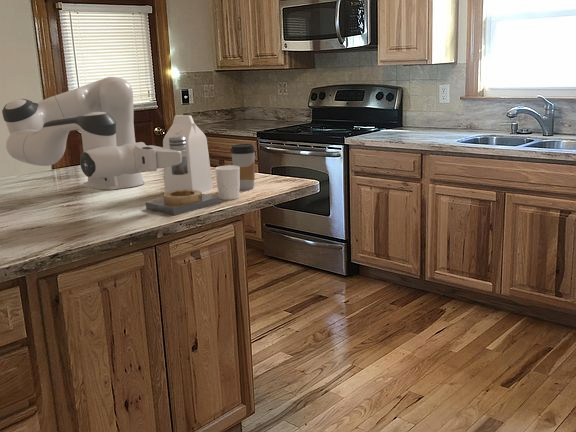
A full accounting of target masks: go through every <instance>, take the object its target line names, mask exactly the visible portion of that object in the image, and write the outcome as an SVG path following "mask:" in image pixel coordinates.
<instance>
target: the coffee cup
mask: <svg viewBox="0 0 576 432" xmlns="http://www.w3.org/2000/svg"><path fill="white" fill-rule="evenodd" d="M255 149H256V148H255V147H254V144H252V143H239V144H233V145H232V146H231V149H230V153H231V161H232V165H235V166H239V167H240V189H239V190H240V191H250V190H253V189H254V188H255V175H256V172H255V171H256V170H255V168H256V166H255V164H256V162H255V159H256V158H255V152H256V150H255Z"/></svg>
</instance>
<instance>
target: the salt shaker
mask: <svg viewBox="0 0 576 432" xmlns="http://www.w3.org/2000/svg"><path fill="white" fill-rule="evenodd" d="M169 145H170V149H172V150H177V151H179V150H186V151H187V149H186V137H170V138H169ZM171 169H172V174H173V175H184V174H188V162H187V156H185V157H182V162H181V163H180V164H178V165H174V166H171Z"/></svg>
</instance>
